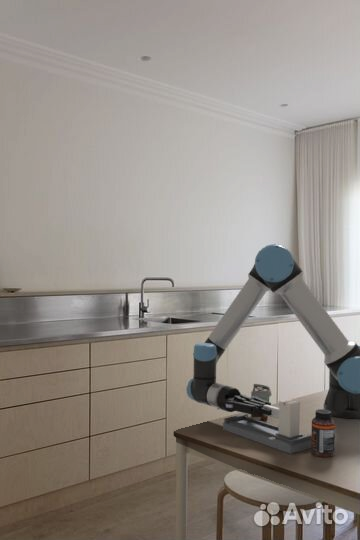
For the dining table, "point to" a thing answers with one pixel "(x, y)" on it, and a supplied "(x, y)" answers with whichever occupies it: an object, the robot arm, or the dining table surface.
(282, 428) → the fader tab
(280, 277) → the robot arm
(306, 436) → the board
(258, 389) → the food container
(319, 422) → the supplement bottle
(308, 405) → the dining table surface
